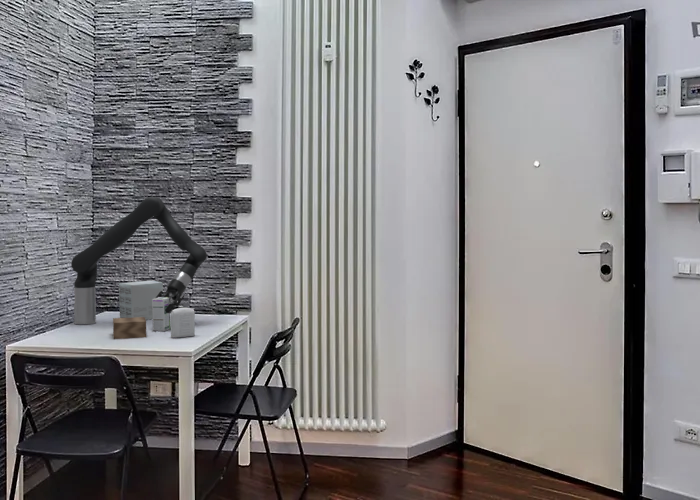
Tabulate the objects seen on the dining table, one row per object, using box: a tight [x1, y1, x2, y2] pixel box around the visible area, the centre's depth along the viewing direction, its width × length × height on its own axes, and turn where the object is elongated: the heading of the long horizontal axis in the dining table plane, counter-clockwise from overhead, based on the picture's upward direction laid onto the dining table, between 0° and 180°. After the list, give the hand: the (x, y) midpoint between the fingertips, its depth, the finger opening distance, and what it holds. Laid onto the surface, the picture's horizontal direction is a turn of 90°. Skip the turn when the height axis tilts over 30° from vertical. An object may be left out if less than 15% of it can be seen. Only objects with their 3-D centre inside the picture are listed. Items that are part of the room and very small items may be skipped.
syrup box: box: [152, 297, 171, 332], centre depth 302 cm, size 6×6×14 cm
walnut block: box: [112, 317, 147, 340], centre depth 288 cm, size 13×13×7 cm
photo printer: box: [170, 307, 196, 339], centre depth 286 cm, size 10×4×12 cm, turn 126°
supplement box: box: [118, 280, 164, 321], centre depth 334 cm, size 17×13×18 cm
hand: (160, 311), depth 302 cm, fingers open, 8 cm apart
